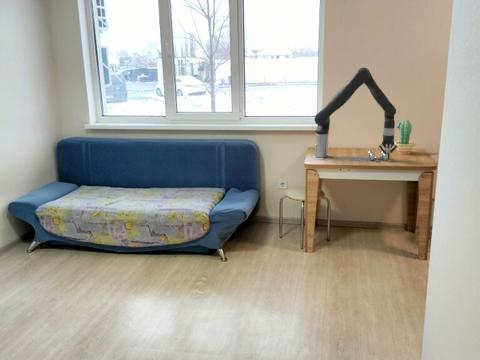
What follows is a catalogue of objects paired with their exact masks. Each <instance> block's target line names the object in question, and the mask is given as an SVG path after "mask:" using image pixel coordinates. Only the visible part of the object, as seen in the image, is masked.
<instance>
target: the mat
mask: <svg viewBox="0 0 480 360" xmlns="http://www.w3.org/2000/svg"><path fill="white" fill-rule="evenodd" d="M349 160H350V162H371V161H370V158H368V157H356V156H355V157H354V156H353V157H349ZM373 162H384V161H383V159H382V158H381V160H375V157H374V161H373ZM385 162H388V160H387V161H385Z"/></svg>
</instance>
